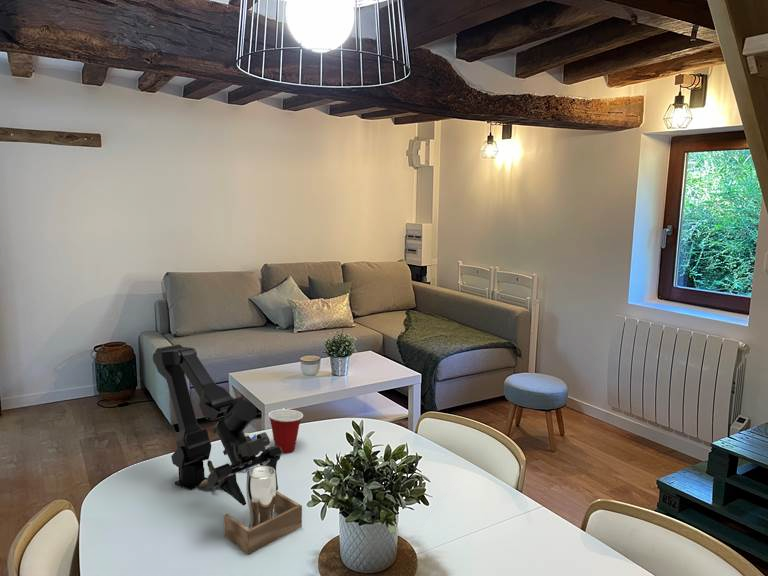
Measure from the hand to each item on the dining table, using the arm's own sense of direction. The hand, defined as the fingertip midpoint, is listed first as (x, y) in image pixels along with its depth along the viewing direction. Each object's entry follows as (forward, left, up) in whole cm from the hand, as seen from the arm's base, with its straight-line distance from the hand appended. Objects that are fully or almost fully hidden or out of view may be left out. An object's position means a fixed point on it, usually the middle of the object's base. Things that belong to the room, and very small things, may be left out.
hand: (261, 497), depth 138 cm
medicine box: (-25, +23, -9) cm, 35 cm away
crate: (0, 0, -8) cm, 8 cm away
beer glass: (0, 0, -9) cm, 9 cm away
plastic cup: (-21, +38, -9) cm, 45 cm away
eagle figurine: (-24, +10, -9) cm, 28 cm away
